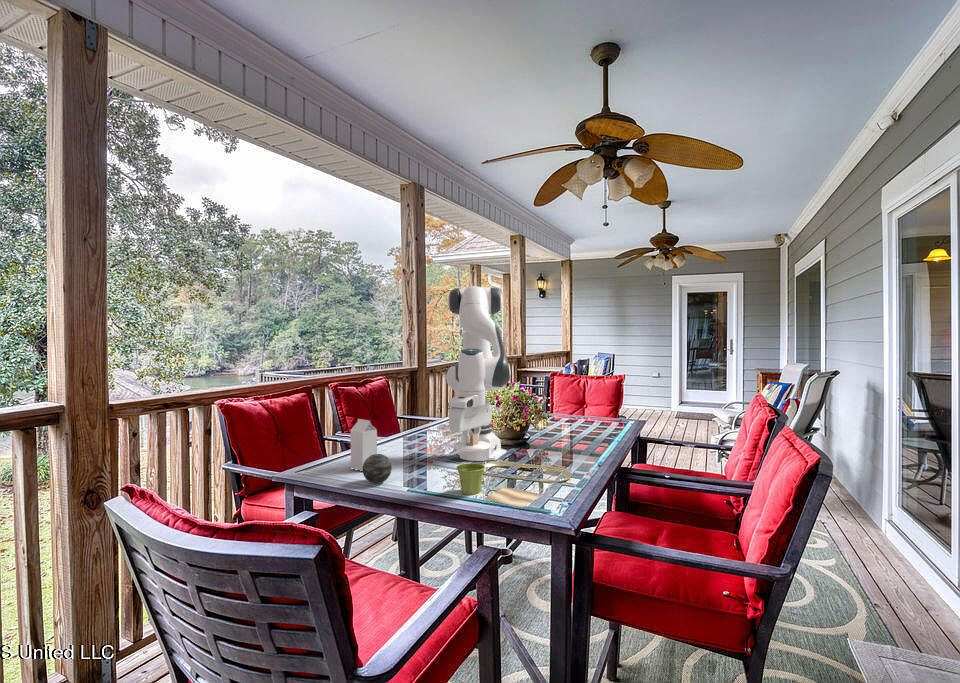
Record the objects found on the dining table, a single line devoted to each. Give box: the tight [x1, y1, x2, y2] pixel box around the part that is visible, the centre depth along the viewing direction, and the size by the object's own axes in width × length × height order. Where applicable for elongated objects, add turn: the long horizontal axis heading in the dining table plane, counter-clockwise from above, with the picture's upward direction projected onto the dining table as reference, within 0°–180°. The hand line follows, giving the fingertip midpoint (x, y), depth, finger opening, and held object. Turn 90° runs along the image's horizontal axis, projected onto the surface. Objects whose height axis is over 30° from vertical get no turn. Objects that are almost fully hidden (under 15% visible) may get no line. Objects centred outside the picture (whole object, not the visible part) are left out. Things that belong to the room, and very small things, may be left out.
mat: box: [482, 486, 544, 509], centre depth 153 cm, size 14×14×1 cm
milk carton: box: [350, 418, 378, 472], centre depth 187 cm, size 7×7×19 cm
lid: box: [453, 433, 490, 452], centre depth 158 cm, size 12×12×4 cm
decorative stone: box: [362, 453, 393, 484], centre depth 169 cm, size 10×10×10 cm
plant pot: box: [456, 462, 486, 496], centre depth 158 cm, size 9×9×9 cm
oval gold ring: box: [482, 461, 572, 484], centre depth 180 cm, size 19×35×2 cm, turn 67°
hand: (471, 441), depth 158 cm, fingers closed on lid, 3 cm apart
